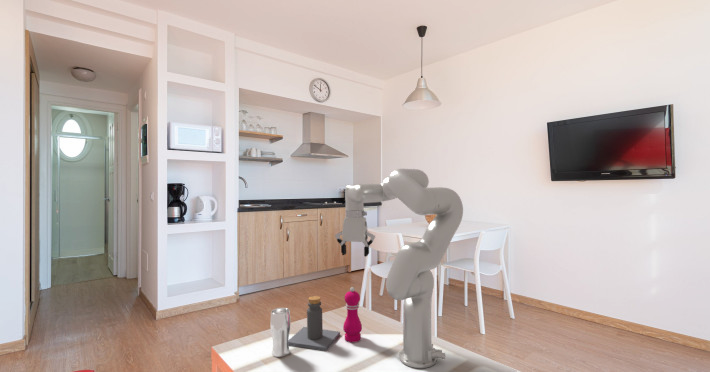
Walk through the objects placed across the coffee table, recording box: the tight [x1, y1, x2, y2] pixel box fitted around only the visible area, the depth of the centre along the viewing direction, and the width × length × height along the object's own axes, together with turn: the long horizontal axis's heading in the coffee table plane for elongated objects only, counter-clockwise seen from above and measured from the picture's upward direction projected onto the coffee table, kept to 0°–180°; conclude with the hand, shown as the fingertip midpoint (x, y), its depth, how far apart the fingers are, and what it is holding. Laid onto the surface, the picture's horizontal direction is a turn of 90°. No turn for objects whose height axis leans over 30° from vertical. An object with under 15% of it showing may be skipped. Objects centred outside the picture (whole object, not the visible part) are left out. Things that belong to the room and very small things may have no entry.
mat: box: [288, 326, 341, 352], centre depth 131 cm, size 16×14×1 cm
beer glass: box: [269, 307, 291, 358], centre depth 121 cm, size 7×7×15 cm
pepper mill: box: [342, 286, 363, 343], centre depth 132 cm, size 7×7×20 cm
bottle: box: [306, 295, 324, 340], centre depth 131 cm, size 6×6×15 cm
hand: (355, 255), depth 142 cm, fingers open, 9 cm apart
